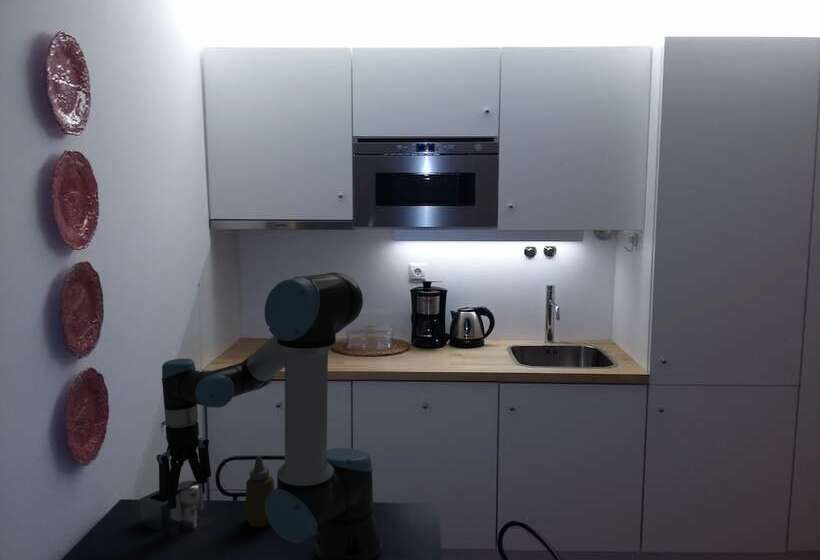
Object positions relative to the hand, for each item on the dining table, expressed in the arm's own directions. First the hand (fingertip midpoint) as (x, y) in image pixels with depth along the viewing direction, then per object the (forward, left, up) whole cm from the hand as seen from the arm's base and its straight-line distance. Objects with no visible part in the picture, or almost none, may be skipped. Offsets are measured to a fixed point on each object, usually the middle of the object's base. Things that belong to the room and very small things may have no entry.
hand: (188, 513), depth 148 cm
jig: (+5, 0, -5) cm, 7 cm away
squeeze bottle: (-14, -11, -5) cm, 18 cm away
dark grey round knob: (0, 0, -3) cm, 3 cm away
